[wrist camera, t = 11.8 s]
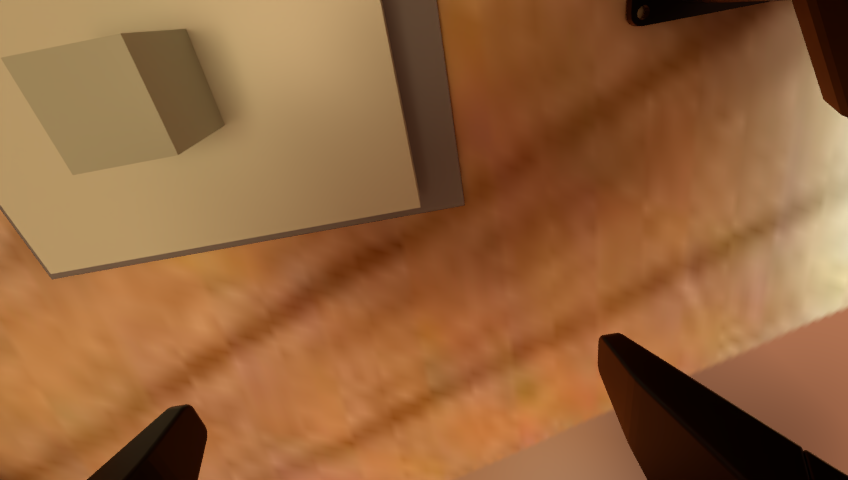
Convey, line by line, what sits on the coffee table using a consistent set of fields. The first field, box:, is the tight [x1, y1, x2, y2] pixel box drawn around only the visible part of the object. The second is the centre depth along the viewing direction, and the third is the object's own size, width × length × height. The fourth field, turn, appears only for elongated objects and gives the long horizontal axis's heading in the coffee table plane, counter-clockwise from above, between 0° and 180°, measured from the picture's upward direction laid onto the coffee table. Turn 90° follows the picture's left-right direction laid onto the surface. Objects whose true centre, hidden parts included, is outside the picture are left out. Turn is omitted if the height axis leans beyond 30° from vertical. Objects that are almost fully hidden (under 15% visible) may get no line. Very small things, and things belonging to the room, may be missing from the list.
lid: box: [0, 0, 420, 274], centre depth 15 cm, size 18×14×6 cm
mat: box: [0, 0, 465, 279], centre depth 18 cm, size 22×16×1 cm
